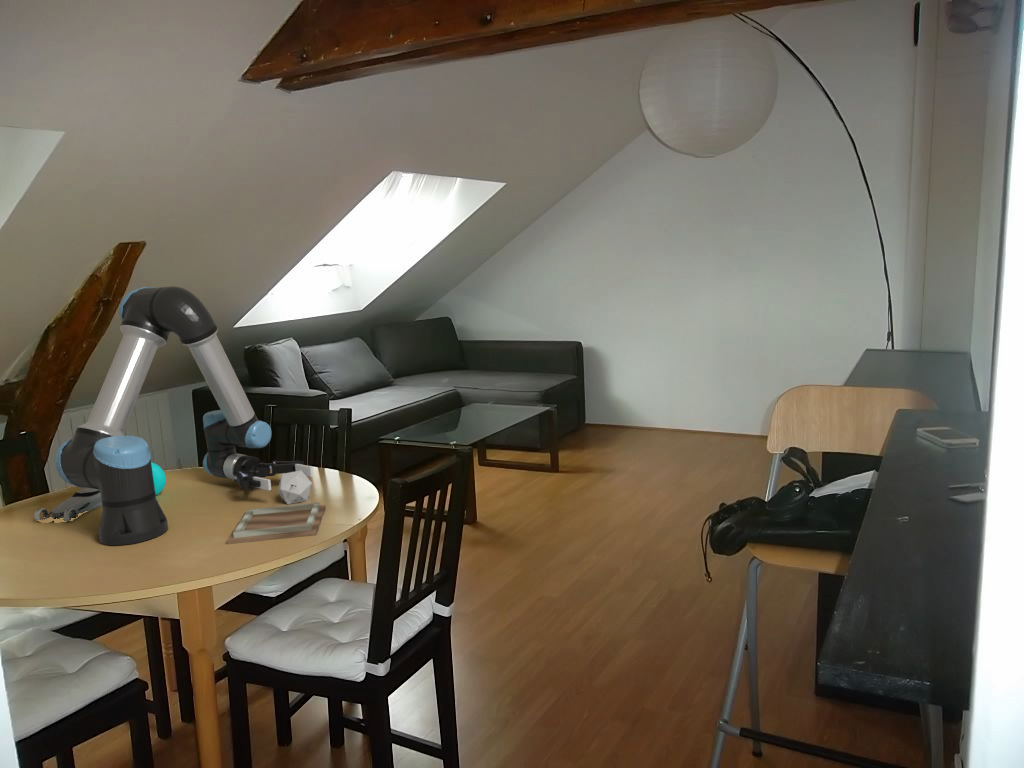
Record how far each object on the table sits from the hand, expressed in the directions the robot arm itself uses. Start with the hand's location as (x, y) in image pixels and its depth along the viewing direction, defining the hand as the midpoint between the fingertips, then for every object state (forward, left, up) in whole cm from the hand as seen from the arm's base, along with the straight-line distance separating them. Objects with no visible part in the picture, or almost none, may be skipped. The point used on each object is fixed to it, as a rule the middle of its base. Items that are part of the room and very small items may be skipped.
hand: (291, 478), depth 212 cm
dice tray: (+14, -15, -6) cm, 21 cm away
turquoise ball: (-39, -21, -6) cm, 44 cm away
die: (+2, -1, -6) cm, 6 cm away
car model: (-48, -33, -6) cm, 59 cm away
